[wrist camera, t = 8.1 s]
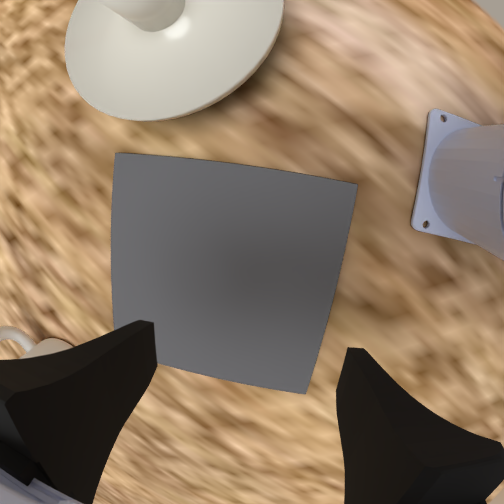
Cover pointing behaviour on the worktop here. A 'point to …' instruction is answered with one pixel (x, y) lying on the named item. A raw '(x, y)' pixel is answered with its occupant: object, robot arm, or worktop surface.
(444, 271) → the worktop surface
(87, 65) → the lid
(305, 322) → the mat
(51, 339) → the mug
